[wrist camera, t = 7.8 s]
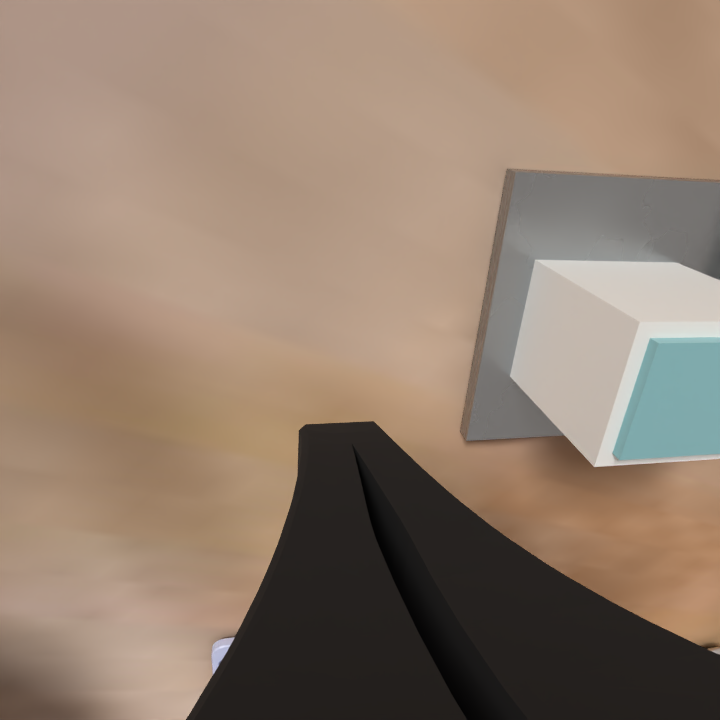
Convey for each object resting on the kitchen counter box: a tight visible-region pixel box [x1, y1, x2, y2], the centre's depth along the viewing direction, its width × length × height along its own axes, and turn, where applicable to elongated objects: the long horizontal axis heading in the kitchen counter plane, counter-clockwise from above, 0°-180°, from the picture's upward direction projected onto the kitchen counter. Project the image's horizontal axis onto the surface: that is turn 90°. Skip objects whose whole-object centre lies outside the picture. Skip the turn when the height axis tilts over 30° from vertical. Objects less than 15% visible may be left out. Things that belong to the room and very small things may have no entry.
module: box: [510, 260, 720, 467], centre depth 16 cm, size 4×6×5 cm
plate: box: [460, 169, 720, 441], centre depth 19 cm, size 9×12×1 cm
